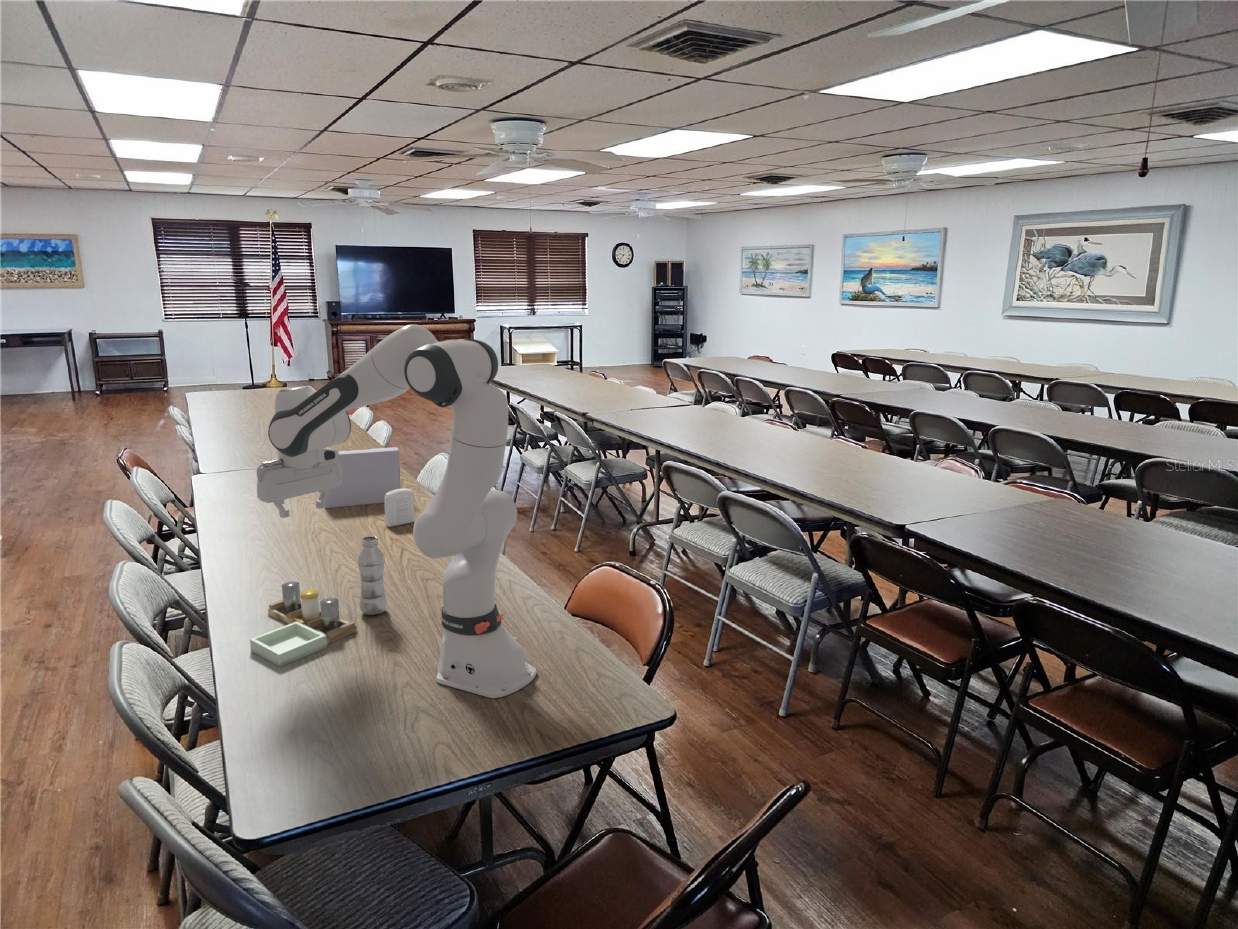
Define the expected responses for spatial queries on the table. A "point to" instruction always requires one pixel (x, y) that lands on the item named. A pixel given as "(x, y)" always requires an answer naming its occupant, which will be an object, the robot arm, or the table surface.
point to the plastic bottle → (371, 577)
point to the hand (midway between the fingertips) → (303, 512)
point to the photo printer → (399, 507)
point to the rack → (312, 622)
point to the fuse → (310, 605)
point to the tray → (288, 643)
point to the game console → (365, 477)
